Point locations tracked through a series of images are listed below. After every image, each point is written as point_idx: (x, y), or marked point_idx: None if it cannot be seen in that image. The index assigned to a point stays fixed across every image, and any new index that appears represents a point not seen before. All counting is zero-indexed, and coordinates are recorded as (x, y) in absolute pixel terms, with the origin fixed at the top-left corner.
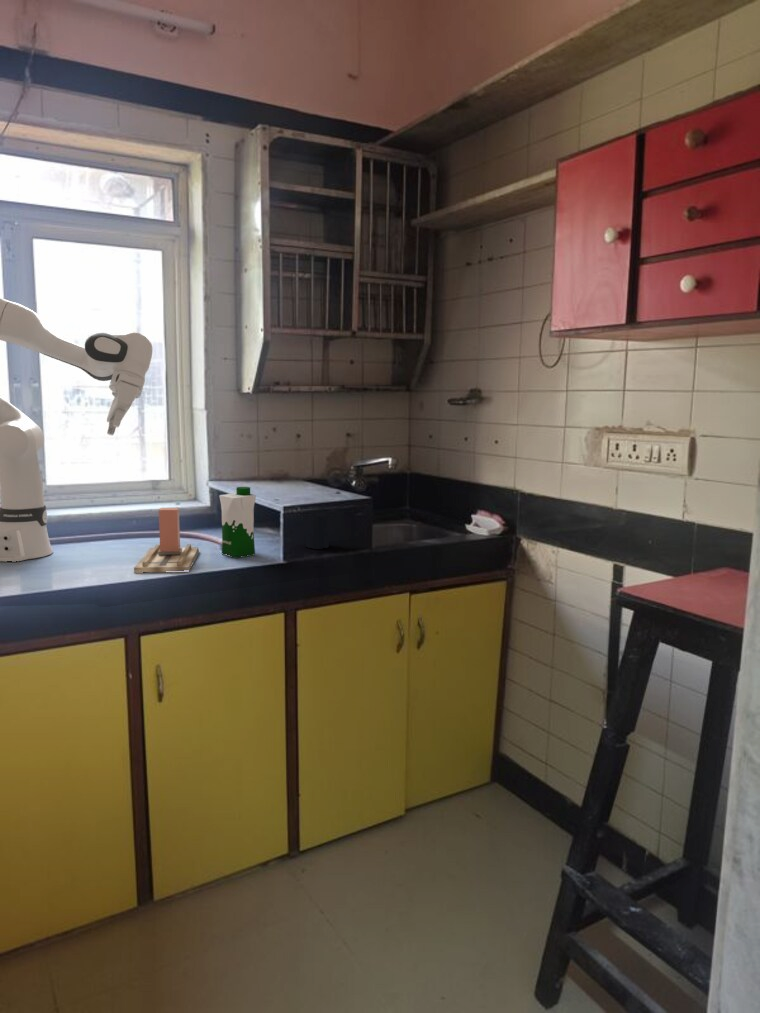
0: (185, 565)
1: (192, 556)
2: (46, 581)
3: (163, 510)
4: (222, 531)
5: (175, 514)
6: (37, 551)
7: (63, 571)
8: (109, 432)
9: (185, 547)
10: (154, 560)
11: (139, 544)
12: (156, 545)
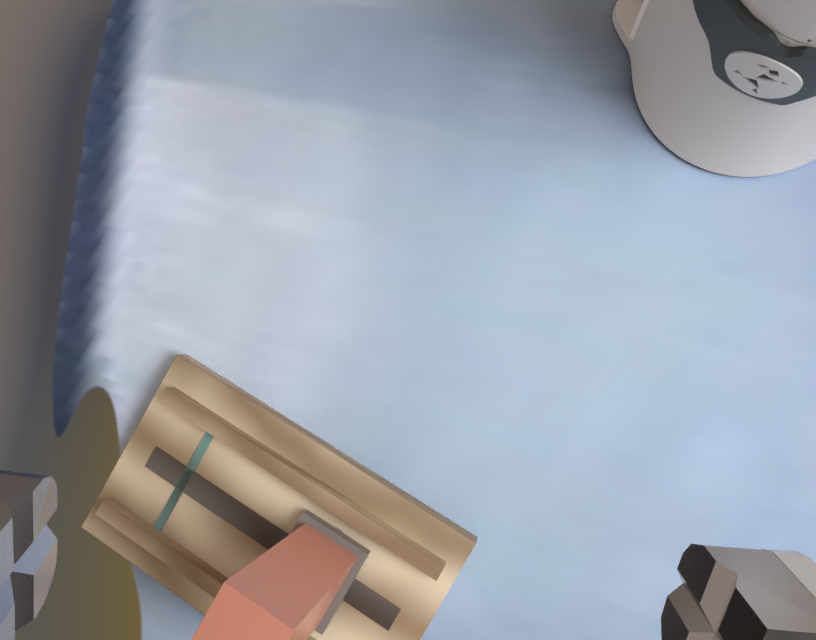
0: (103, 527)
1: None
2: (248, 72)
3: (211, 604)
4: None
5: None
6: (648, 89)
7: (354, 147)
8: (688, 570)
9: None
10: (239, 462)
11: None
12: (425, 559)
